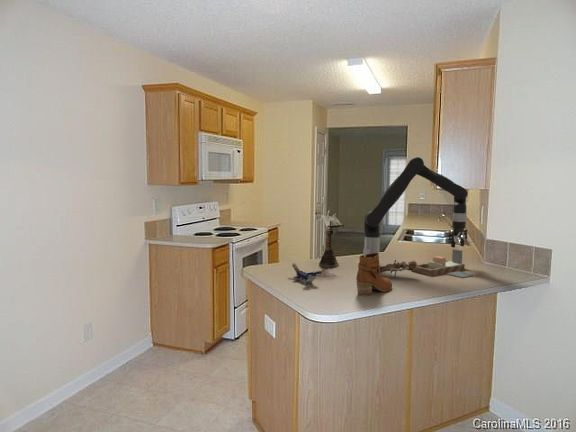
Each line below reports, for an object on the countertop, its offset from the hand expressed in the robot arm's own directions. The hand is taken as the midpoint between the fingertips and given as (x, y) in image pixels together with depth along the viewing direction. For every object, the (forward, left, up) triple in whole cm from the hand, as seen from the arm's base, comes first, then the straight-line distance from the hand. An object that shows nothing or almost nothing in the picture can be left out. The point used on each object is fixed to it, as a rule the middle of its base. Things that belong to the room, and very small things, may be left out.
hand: (457, 246), depth 245 cm
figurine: (-53, +4, -13) cm, 55 cm away
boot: (-80, -13, -13) cm, 82 cm away
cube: (-16, 0, -10) cm, 19 cm away
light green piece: (-9, 0, -11) cm, 15 cm away
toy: (-99, +20, -13) cm, 102 cm away
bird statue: (-65, +40, -13) cm, 78 cm away
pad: (-16, -14, -13) cm, 25 cm away
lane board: (-17, 0, -13) cm, 22 cm away
